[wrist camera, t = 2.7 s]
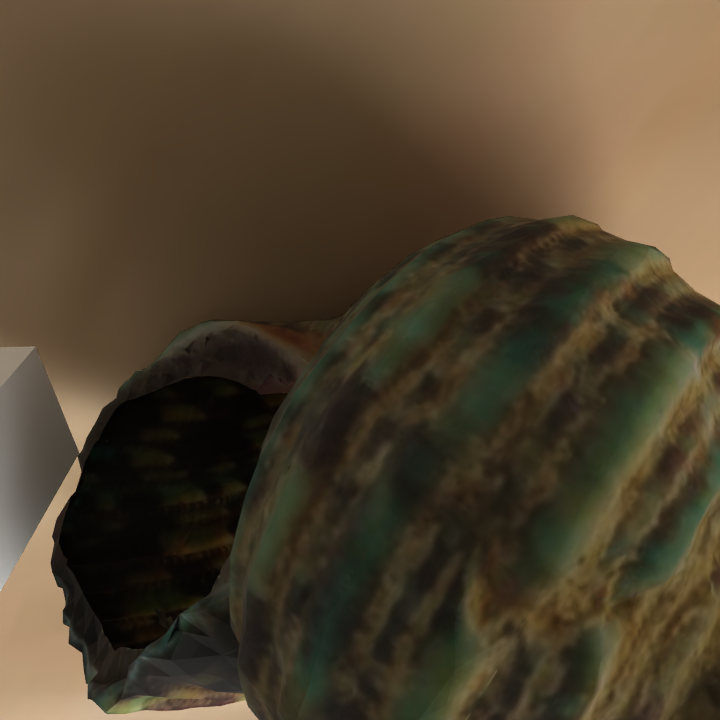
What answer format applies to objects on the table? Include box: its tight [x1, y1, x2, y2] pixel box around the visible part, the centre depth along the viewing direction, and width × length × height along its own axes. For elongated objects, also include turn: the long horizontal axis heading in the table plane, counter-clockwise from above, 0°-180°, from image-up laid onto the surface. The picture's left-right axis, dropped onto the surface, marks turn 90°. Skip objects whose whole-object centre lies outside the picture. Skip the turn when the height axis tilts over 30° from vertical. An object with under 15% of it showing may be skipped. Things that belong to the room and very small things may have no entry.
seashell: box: [51, 215, 720, 720], centre depth 9 cm, size 11×11×10 cm
